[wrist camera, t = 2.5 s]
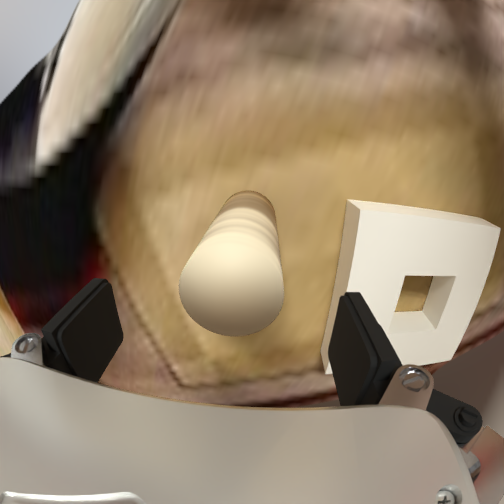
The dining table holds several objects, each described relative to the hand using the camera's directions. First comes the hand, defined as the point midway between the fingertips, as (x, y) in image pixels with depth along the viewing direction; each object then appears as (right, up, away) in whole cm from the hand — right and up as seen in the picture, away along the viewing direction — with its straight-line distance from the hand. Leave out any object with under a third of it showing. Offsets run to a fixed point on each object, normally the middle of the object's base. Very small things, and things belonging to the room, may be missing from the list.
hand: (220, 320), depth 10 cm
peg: (+1, +5, +12) cm, 13 cm away
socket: (+17, -1, +14) cm, 22 cm away
